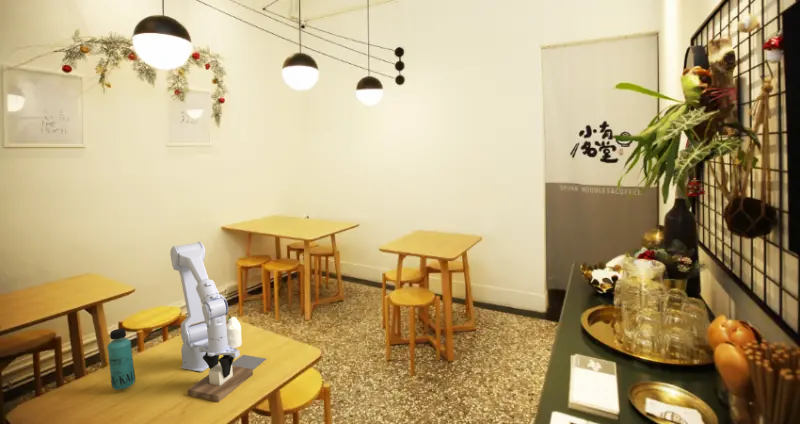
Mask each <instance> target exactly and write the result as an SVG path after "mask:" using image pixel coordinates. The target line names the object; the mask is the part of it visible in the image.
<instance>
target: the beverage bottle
mask: <svg viewBox="0 0 800 424" xmlns="http://www.w3.org/2000/svg"><path fill="white" fill-rule="evenodd" d="M126 336H127V333H126V329H125V328H116V329H112V330H111V331H110V336H109V338H110V340H111V341H110V342H109V343H108V344H107V355H108V364H109V366H108V367H109V372H110V373H109V374H110V375H109V376H110V383H111V387H112V389H113V390H117V391H118V390H123V389H127V388H129V387H131V386H133V385H134V384H135V383H136V374H135V363H134V359H133V352H132V341H131V340H130V339H129V338H127V337H126Z"/></svg>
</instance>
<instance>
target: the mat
mask: <svg viewBox="0 0 800 424" xmlns="http://www.w3.org/2000/svg"><path fill="white" fill-rule="evenodd" d="M266 360H267V358H266V357H265V358H264V357H259V356H254V355H247V354H242V355H241V356H238V357H237V358H236V359H234V360H233V362H232V366H238V367H243V368H249V369H253V370H255V369H256V368H257V367H259V366H261V364H263V363H264V362H265V361H266Z"/></svg>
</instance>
